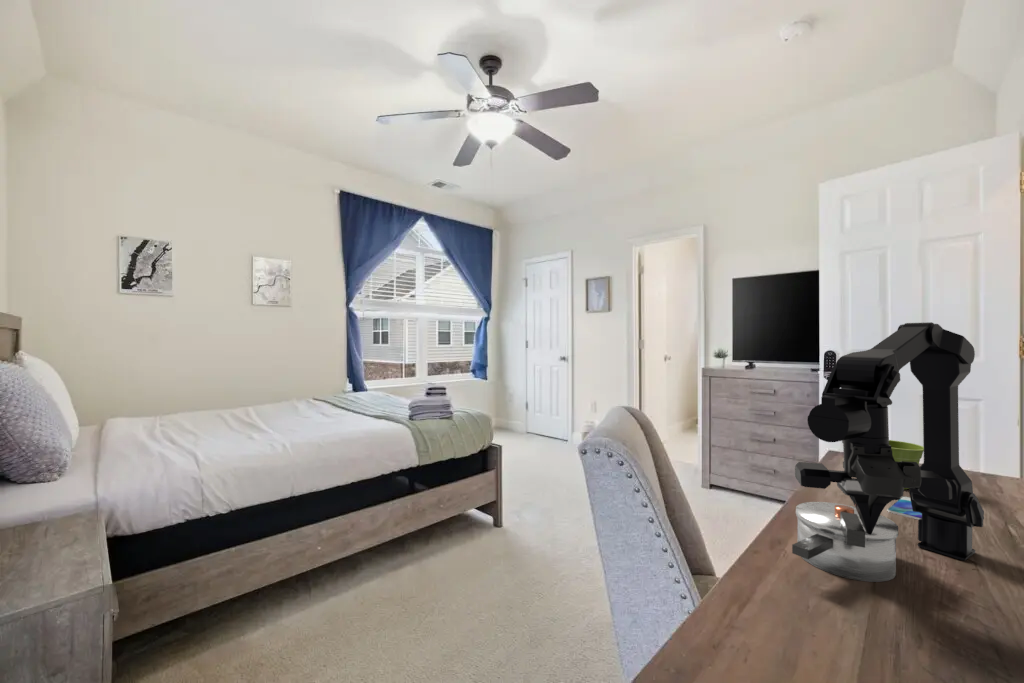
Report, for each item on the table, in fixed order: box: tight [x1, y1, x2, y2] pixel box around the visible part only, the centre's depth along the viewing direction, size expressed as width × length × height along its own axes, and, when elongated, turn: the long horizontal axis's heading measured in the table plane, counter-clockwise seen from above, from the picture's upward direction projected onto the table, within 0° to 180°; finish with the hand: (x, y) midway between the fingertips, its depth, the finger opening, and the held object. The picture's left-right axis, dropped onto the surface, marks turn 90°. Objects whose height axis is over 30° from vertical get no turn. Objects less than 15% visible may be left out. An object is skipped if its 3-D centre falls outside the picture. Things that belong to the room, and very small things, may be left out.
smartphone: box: [886, 495, 922, 520], centre depth 103 cm, size 7×1×15 cm
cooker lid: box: [795, 501, 899, 548], centre depth 77 cm, size 20×15×3 cm
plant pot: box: [889, 439, 924, 490], centre depth 120 cm, size 12×12×11 cm
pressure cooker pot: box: [791, 518, 897, 583], centre depth 78 cm, size 25×14×6 cm, turn 121°
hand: (868, 533), depth 70 cm, fingers closed
